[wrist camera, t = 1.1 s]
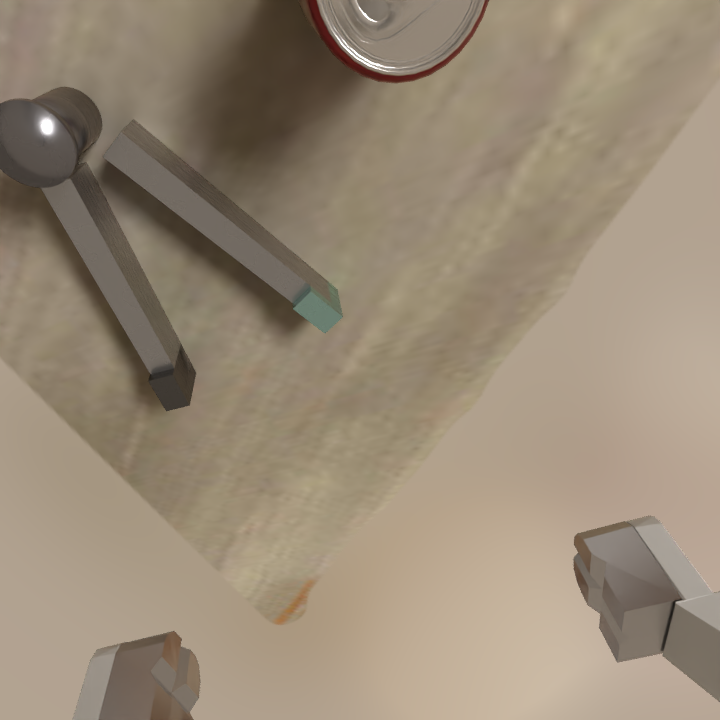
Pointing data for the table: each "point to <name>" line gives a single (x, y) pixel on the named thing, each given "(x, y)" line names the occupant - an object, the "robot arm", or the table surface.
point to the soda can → (394, 34)
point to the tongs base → (92, 224)
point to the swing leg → (224, 223)
